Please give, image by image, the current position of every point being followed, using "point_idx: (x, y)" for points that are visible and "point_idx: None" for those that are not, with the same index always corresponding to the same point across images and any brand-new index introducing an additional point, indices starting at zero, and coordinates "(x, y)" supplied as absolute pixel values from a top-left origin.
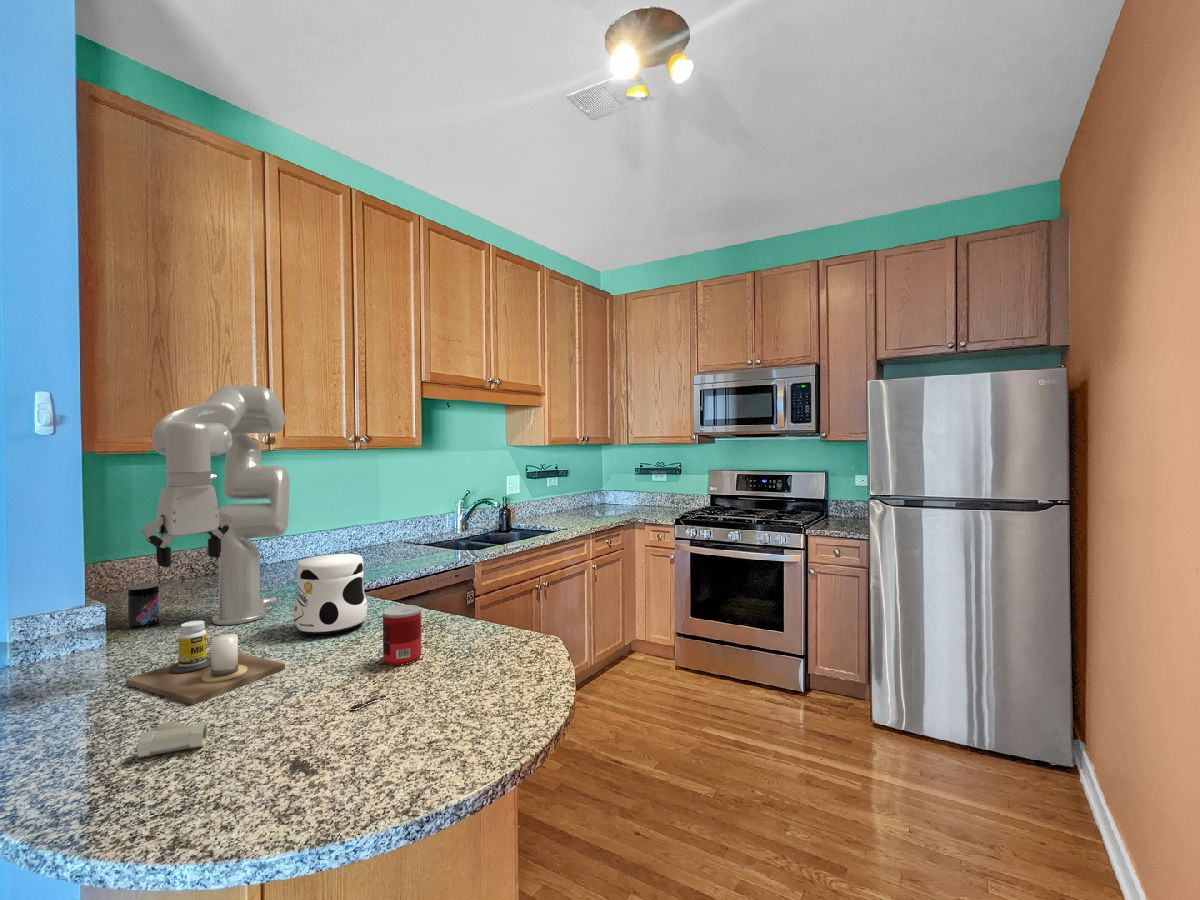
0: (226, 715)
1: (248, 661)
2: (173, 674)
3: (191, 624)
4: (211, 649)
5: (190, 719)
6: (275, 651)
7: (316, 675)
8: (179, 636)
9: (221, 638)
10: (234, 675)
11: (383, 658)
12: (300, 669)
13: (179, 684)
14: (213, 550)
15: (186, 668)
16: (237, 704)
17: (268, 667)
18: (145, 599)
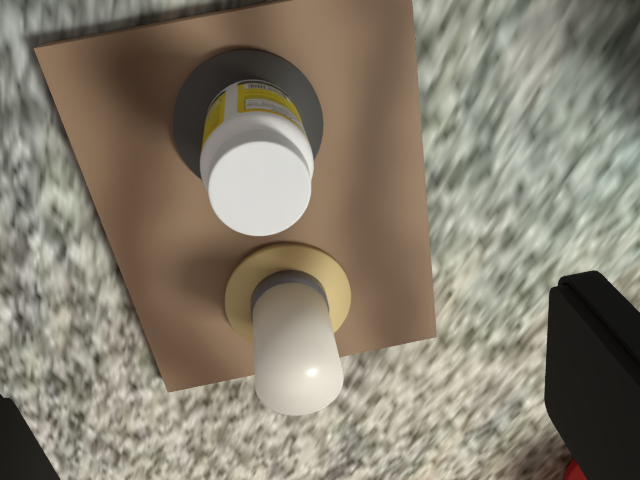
0: (206, 473)
1: (389, 235)
2: (178, 156)
3: (248, 209)
4: (254, 354)
5: (144, 444)
6: (521, 144)
7: (443, 417)
8: (201, 168)
9: (287, 386)
10: None
11: (575, 469)
12: (450, 356)
13: (169, 267)
14: (586, 430)
15: None
16: (244, 441)
17: (392, 332)
18: None
